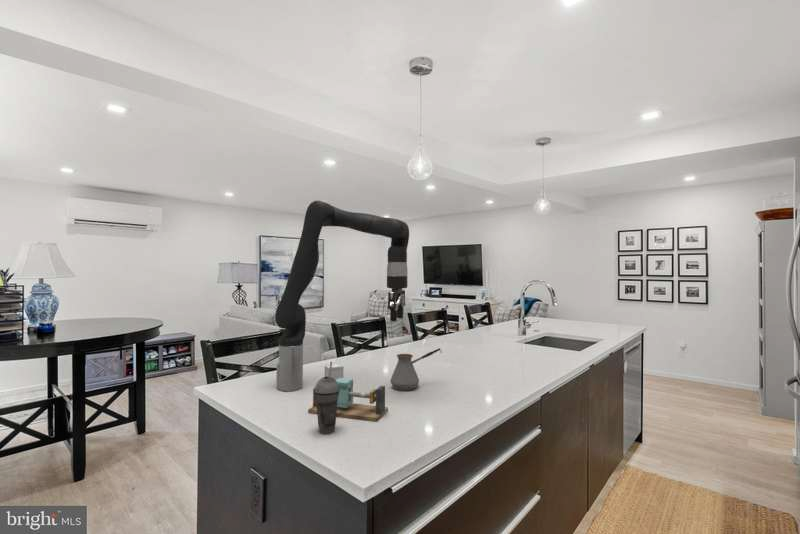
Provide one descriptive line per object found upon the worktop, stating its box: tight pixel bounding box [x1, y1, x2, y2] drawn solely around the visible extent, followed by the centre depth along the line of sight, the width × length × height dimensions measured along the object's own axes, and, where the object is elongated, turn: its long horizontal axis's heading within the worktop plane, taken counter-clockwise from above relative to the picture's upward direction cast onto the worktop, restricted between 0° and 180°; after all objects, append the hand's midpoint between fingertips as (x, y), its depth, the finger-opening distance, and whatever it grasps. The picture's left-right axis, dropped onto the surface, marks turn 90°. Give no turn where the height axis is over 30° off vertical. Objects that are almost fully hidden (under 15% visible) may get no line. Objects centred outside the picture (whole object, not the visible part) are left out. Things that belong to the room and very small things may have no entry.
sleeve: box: [336, 377, 354, 408], centre depth 129 cm, size 5×5×8 cm
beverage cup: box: [314, 361, 340, 435], centre depth 113 cm, size 7×7×20 cm
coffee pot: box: [390, 347, 443, 391], centre depth 156 cm, size 21×12×15 cm, turn 104°
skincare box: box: [324, 363, 344, 380], centre depth 142 cm, size 6×4×12 cm
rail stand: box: [307, 385, 389, 423], centre depth 128 cm, size 24×10×9 cm, turn 72°
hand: (396, 319), depth 141 cm, fingers open, 8 cm apart
